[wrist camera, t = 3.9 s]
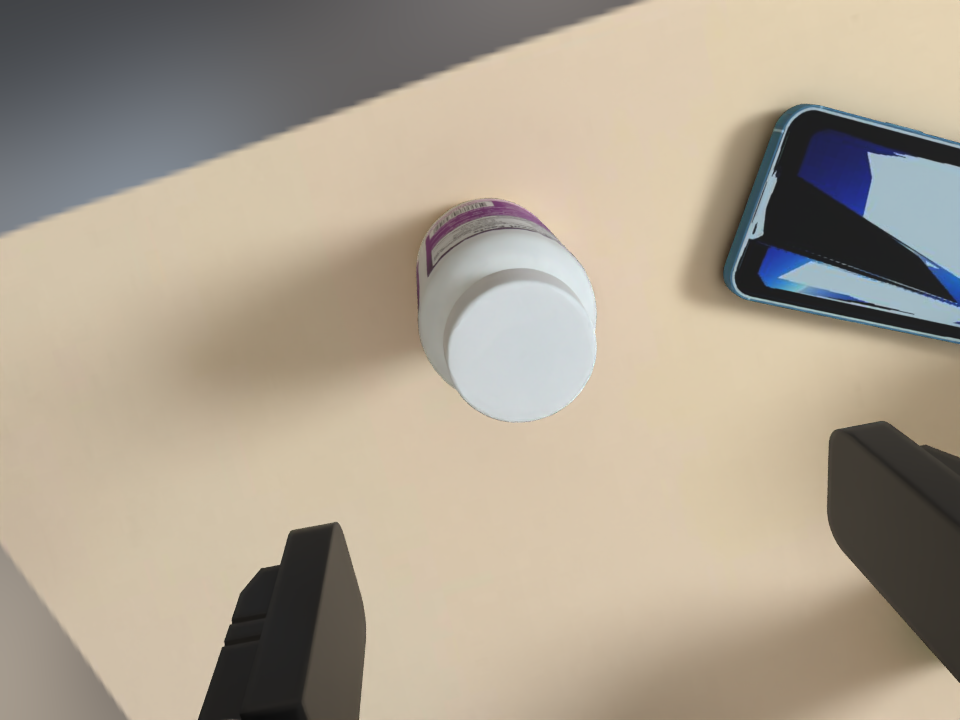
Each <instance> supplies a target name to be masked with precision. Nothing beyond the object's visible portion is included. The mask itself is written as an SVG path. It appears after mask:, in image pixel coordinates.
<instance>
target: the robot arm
mask: <svg viewBox="0 0 960 720" xmlns="http://www.w3.org/2000/svg"><path fill="white" fill-rule="evenodd" d="M827 514H828V521H829V525H830V528H831V531H832V534H833V536H834V538H835V540H836V542H837V544H838V545H839V547H840V548H841V550H842V551H843V552H844V553H845V554H846V555H847V557H848V558H849V559H850V560H851V561H852V562H853V563H854V564H855V566H856V567H857V568H858V569H859V570H860V571H861V572H862V573H863V575H864V576H865V577H866V578H867V579H868V580H869V581H870V582H871V584H872V585H873V586H874V587H875V588H876V589H877V590H878V591H879V593H880V594H881V595H882V596H883V597H884V598H885V599H886V600H887V602H888V603H889V604H890V605H891V606H892V607H893V608H894V609H895V611H896V612H897V613H898V614H899V615H900V616H901V617H902V618H903V620H904V621H905V622H906V623H907V624H908V625H909V626H910V627H911V629H912V630H913V631H914V632H915V633H916V634H917V635H918V636H919V638H920V639H921V640H922V641H923V642H924V643H925V644H926V645H927V647H928V648H929V649H930V650H931V651H932V652H933V653H934V655H935V656H936V657H937V658H938V659H939V660H940V661H941V662H942V664H943V665H944V666H945V667H946V668H947V669H948V670H949V671H950V673H951V674H952V675H953V676H954V677H955V678H956V679H957V680H958V682H959V683H960V458H958V457H956V456H953V455H951V454H948V453H946V452H943V451H941V450H938V449H935V448H933V447H930V446H928V445H922V446H919V445H918V444H916V443H915V442H914V441H912V440H911V439H910V438H908V437H907V436H906V435H904V434H903V433H902V432H900V431H899V430H898V429H896V428H895V427H894V426H892V425H891V424H889V423H888V422H885V421H879V422H874V423H868V424H863V425H858V426H852V427H847V428H842V429H837V430H835V431H833V432H832V434H831V436H830V440H829V456H828V495H827ZM224 642H225V647H222V650H221V653H220V656H219V658H218V661H217V664H216V667H215V670H214V673H213V676H212V679H211V682H210V685H209V688H208V691H207V694H206V697H205V700H204V703H203V706H202V709H201V712H200V715H199V718H198V720H359V712H360V701H361V689H362V678H363V667H364V655H365V644H366V621H365V612H364V606H363V601H362V597H361V593H360V590H359V586H358V583H357V579H356V576H355V572H354V569H353V565H352V562H351V558H350V555H349V551H348V548H347V544H346V541H345V538H344V534H343V531H342V529H341V526H340V525H339V523H338V522H334V523H328V524H323V525H318V526H312V527H307V528H302V529H296V530H292V531H290V533H289V535H288V538H287V542H286V546H285V549H284V553H283V557H282V560H281V564H280V565H277V566H272V567H266V568H261V569H260V570H259V572H258V573H257V574H256V575H255V576H254V578H253V579H252V580H251V581H250V582H249V584H248V585H247V586H246V587H245V588H244V590H243V591H242V592H241V593H240V596H239V599H238V602H237V605H236V608H235V611H234V614H233V617H232V625H230V626H229V629H228V632H227V635H226V638H225V641H224Z"/></svg>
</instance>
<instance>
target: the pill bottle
mask: <svg viewBox="0 0 960 720" xmlns="http://www.w3.org/2000/svg"><path fill="white" fill-rule="evenodd" d="M416 279H417V298H418V328H419V335H420V340H421V343H422V346H423V349H424V351H425V354H426V356H427V358H428V360H429V362H430V363H431V365H432V366H433V368H434V369H435V371H436V372H437V373H438V374H439V375H440V376H441V377H442V379H443V380H444V381H446V382H447V383H448V384H449V385H450V386H451V387H453V388H454V389H456V390H457V391H458V393H459V394H460V395H461V397H462V398H463V399H464V400H465V401H466V402H467V403H468V404H469V405H470V406H471V407H473V408H474V409H476V410H477V411H479V412H480V413H482V414H484V415H486V416H488V417H491V418H494V419H496V420H500V421H505V422H513V423H514V422H530V421H535V420H539V419H542V418H545V417H547V416H550V415H553V414H555V413H557V412H558V411H560V410H561V409H563V408H564V407H566V406H567V405H568V404H569V403H571V402H572V401H573V400H574V399H575V398H576V397H577V396H578V394H579V393H580V392H581V391H582V389H583V388H584V386H585V385H586V383H587V381H588V380H589V378H590V376H591V374H592V371H593V367H594V364H595V360H596V349H597V345H596V335H595V328H596V318H597V312H596V301H595V296H594V292H593V289H592V286H591V283H590V281H589V279H588V276H587V274H586V272H585V270H584V268H583V267H582V265H581V264H580V263H579V261H578V260H577V259H576V258H575V256H574V255H573V254H572V253H570V252H569V251H568V250H567V248H566V247H565V246H564V245H563V244H562V243H561V242H560V241H559V240H558V239H557V238H556V237H555V236H554V235H553V233H552V232H551V231H550V230H549V229H548V228H547V227H546V226H545V225H544V224H543V223H542V222H541V221H540V220H539V219H538V218H537V217H536V216H534V215H533V214H532V213H531V212H529V211H528V210H526V209H525V208H523V207H521V206H520V205H517V204H515V203H512V202H509V201H506V200H501V199H493V198H484V199H475V200H470V201H467V202H464V203H461V204H459V205H457V206H455V207H453V208H452V209H450V210H448V211H447V212H446V213H445V214H443V215H442V216H441V217H440V218H439V219H438V220H436V221H435V223H434V224H433V225H432V226H431V228H430V229H429V230H428V232H427V233H426V235H425V237H424V239H423V241H422V243H421V246H420V249H419V252H418V257H417V265H416Z"/></svg>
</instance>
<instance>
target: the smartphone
mask: <svg viewBox="0 0 960 720" xmlns="http://www.w3.org/2000/svg"><path fill="white" fill-rule="evenodd" d="M723 277H724V281H725V284H726V286H727V287H728V289H729V290H730V291H732V292H733V293H734V294H736V295H737V296H739V297H741V298H743V299H746V300H750V301H754V302H759V303H764V304H769V305H774V306H778V307H783V308H788V309H793V310H798V311H803V312H806V313H811V314H816V315H821V316H827V317H831V318H835V319H840V320H845V321H850V322H856V323H860V324H865V325H870V326H875V327H880V328H884V329H889V330H894V331H899V332H904V333H909V334H913V335H918V336H923V337H928V338H933V339H938V340H942V341H947V342H952V343H957V344H960V143H958V142H954V141H950V140H947V139H943V138H939V137H936V136H932V135H928V134H924V133H923V132H921V131H917V130H914V129H910V128H906V127H903V126H899V125H895V124H891V123H887V122H885V123H884V122H880V121H876V120H872V119H869V118H865V117H861V116H858V115H854V114H850V113H846V112H843V111H839V110H835V109H832V108H828V107H824V106H820V105H812V104H800V105H796V106H794V107H792V108H790V109H788V110H787V111H786V112H785V113H784V114H783V115H782V116H781V117H780V118H779V119H778V121H777V123H776V125H775V127H774V129H773V132H772V135H771V137H770V140H769V143H768V146H767V149H766V151H765V154H764V157H763V160H762V163H761V165H760V168H759V171H758V174H757V176H756V179H755V182H754V185H753V188H752V190H751V193H750V196H749V199H748V201H747V204H746V207H745V210H744V213H743V215H742V218H741V221H740V224H739V227H738V229H737V232H736V235H735V238H734V240H733V243H732V246H731V249H730V252H729V254H728V257H727V260H726V263H725V266H724V271H723Z"/></svg>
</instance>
